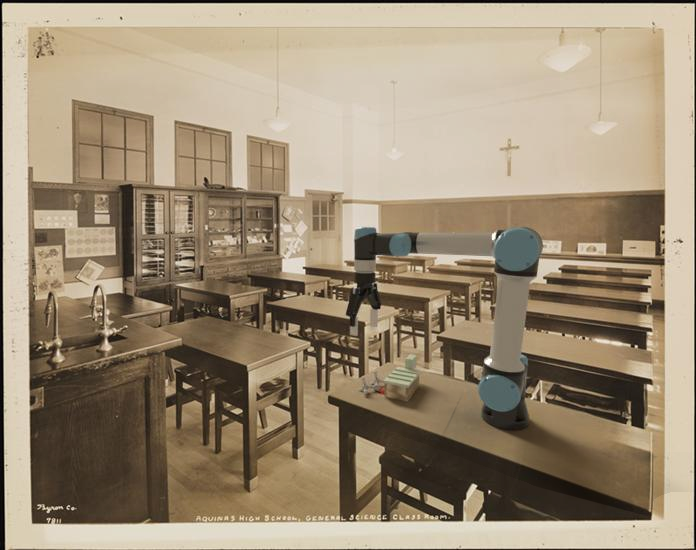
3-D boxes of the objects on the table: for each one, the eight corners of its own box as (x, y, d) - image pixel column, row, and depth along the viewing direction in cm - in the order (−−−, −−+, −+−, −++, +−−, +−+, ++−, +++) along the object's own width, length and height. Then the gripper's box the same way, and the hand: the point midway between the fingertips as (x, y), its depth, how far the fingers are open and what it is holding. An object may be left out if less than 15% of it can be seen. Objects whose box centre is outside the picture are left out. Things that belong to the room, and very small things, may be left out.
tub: (418, 387, 162) (419, 373, 161) (407, 403, 149) (408, 387, 148) (397, 383, 166) (397, 369, 165) (384, 398, 153) (384, 382, 152)
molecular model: (391, 397, 162) (372, 383, 168) (398, 381, 160) (378, 367, 166) (372, 408, 151) (351, 393, 156) (379, 391, 149) (358, 376, 154)
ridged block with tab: (424, 368, 167) (424, 356, 166) (408, 387, 148) (409, 374, 147) (401, 364, 171) (402, 352, 170) (383, 383, 152) (384, 370, 151)
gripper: (373, 267, 154) (372, 321, 157) (335, 274, 134) (335, 337, 137) (391, 268, 150) (389, 324, 153) (354, 276, 130) (354, 341, 133)
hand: (364, 330), depth 145 cm, fingers open, 13 cm apart
